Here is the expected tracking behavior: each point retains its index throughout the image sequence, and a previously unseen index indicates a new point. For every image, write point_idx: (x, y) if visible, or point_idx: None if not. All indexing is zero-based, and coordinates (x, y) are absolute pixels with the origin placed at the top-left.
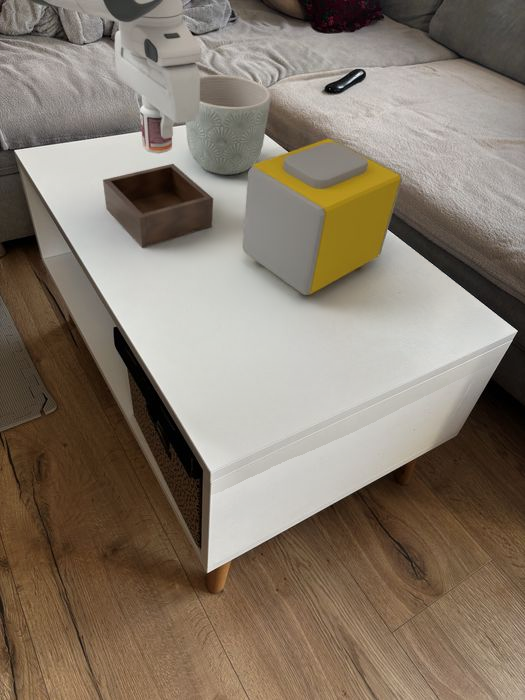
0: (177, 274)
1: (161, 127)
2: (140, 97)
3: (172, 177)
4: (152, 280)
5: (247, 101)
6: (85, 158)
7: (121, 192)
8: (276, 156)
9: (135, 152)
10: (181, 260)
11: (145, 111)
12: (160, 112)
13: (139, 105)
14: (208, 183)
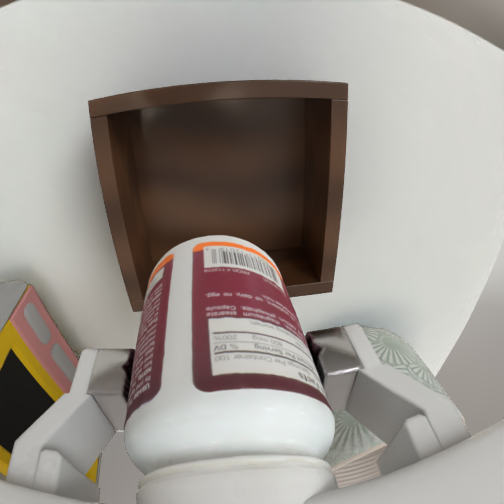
0: (16, 141)
1: (76, 391)
2: (400, 433)
3: (306, 268)
4: (14, 89)
5: (378, 456)
6: (491, 152)
7: (252, 98)
8: (4, 466)
9: (461, 243)
10: (50, 163)
11: (186, 424)
12: (49, 473)
13: (386, 385)
14: (301, 319)
